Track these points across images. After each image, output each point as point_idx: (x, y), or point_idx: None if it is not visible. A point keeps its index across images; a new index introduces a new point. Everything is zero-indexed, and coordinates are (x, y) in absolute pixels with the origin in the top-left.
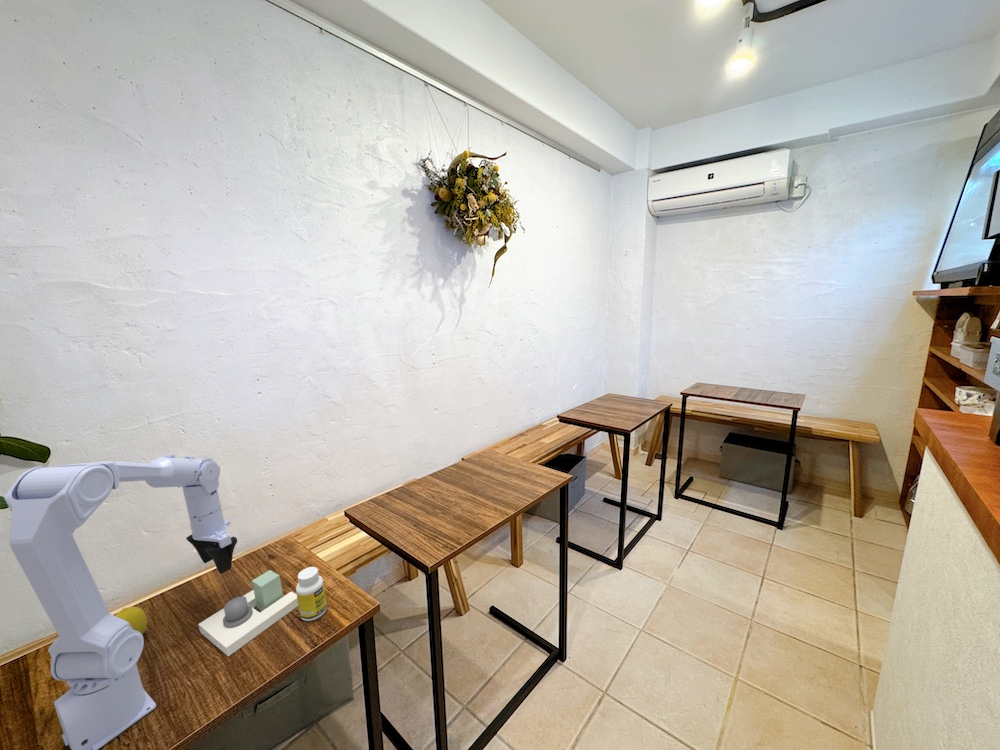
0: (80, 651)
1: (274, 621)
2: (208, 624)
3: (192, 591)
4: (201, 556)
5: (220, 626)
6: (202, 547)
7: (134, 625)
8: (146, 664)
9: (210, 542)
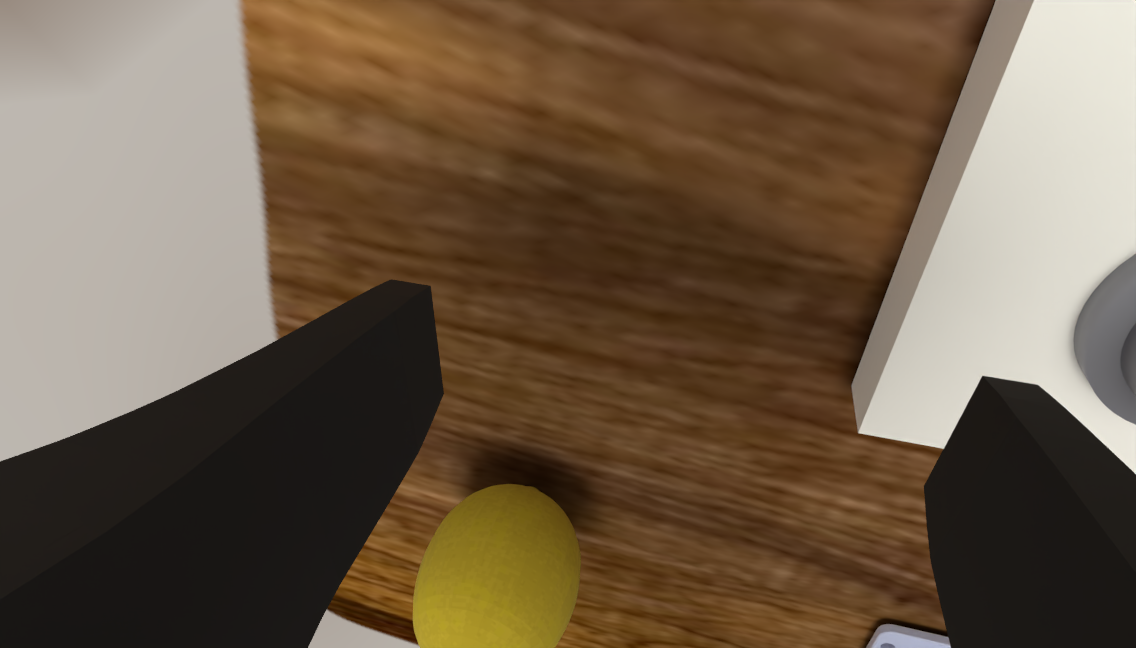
0: None
1: None
2: (955, 420)
3: (330, 170)
4: (383, 507)
5: (1100, 414)
6: (282, 608)
7: (567, 615)
8: (767, 551)
9: (225, 537)
